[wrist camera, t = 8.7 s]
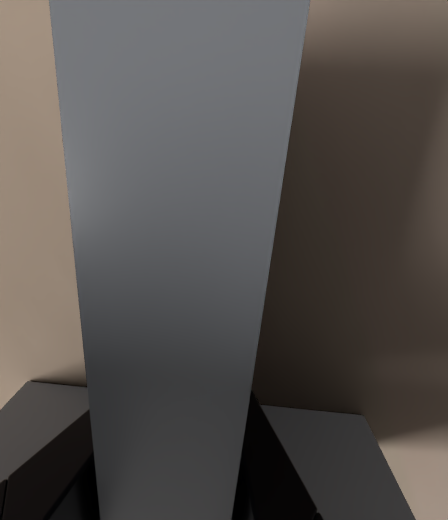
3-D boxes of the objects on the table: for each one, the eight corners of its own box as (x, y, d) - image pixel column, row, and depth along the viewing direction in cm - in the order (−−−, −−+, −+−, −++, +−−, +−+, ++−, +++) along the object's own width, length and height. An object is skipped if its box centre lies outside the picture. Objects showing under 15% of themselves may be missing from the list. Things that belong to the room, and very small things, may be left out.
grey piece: (472, 92, 7) (911, -34, 2) (352, 447, 10) (431, 643, 6) (-36, 47, 7) (-510, -149, 2) (33, 415, 11) (-102, 585, 6)
